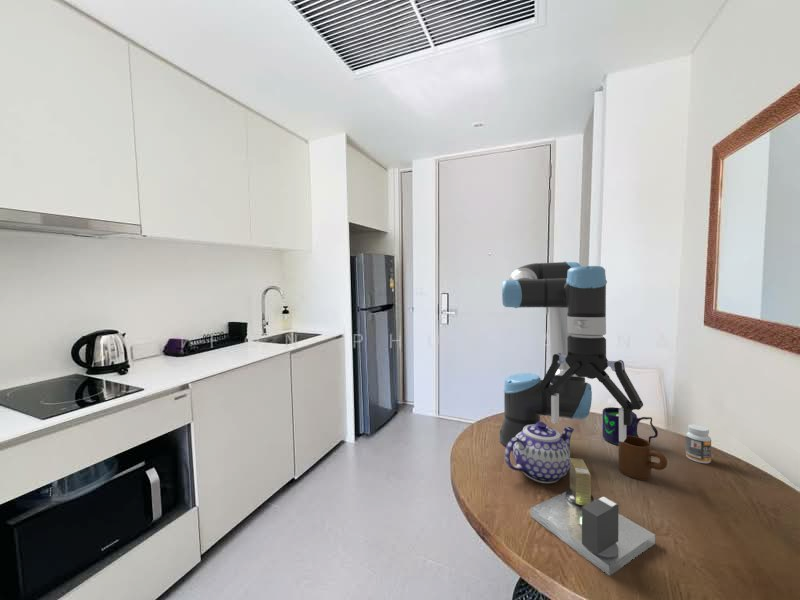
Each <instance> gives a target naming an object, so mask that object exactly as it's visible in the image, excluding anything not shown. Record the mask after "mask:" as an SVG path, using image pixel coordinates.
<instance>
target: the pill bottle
mask: <svg viewBox="0 0 800 600" xmlns="http://www.w3.org/2000/svg"><path fill="white" fill-rule="evenodd" d="M687 426H688V427H687V430H688V431H687V432H686V434H685V455H686V458H688V459H689V460H691V461H693V462H696V463H699V464H710V463H711V462H712V438H711V437H710V436H709V433H710V430H709V428H707V427H706V426H703V425H699V424H688V425H687Z"/></svg>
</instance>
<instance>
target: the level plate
mask: <svg viewBox="0 0 800 600" xmlns="http://www.w3.org/2000/svg"><path fill="white" fill-rule="evenodd" d="M595 500H596V499H594V501H595ZM582 507H583V506H580V505H577V504H575V503H573V502H571V501H570V500H569V499H568V498H567V497H566V491H565V492H562V493H560V494H558V495H556V496H554V497H551V498H550V499H546V500H545V501H543V502H540V503H538V504H536V505H533V506H532V507H530V510H529V512H530V515H529V516H530V517H531V518H532V519H533V520H535V522H537V523H539V524H540V525H541V526H543V527H544V528H545V529H546V530H548V531H549V532H551V534H554V536H555V537H557V538H558V539H560V540H561V541H562V542H563V543H565V544H566V545H567V546H569V547H570V548H571V549H573V550H574V551H575V552H577V553H578V554H579V555H580V556H582V557H583V558H585V559H586V560H587V561H589V562H590V563H591V564H592V565H594V566H595V567H596V566H597V567H596V568H598V569H599V570H600V569H601V570H600V571H602V572H603V573H604V572H605V574H606V576H608V575H609V576H608V577H610V576H612V575H613V574H615V573H617V572H618V571H619V570H620V569H622V568H623V567H625V566H626V565H627V564H629V563H630V562H632V561H633V560H634V559H636V558H637V557H639V556H640V555H641V554H643V553H645V552H646V551H647V550H648V548H649V549H650V548H651V547H653V546H654V545H656V534H654V533H653V532H651V531H649V530H648V529H646V528H644V527H643V526H641V525H639V524H637V523H636V522H634V521H633V520H630V519H629V518H627V517H626V516H624V515H623V514H620V512H618V542H616V544H617V546H618V554H617V556H615V557H611V558H608V557H603V556H600V555H596V554H595V553H593V552H592V551H590V550H589V549H588V548H587V547H585V546H584V545H583V544H582ZM642 552H643V553H642ZM638 555H639V556H638ZM635 557H636V558H635ZM632 559H633V560H632ZM631 560H632V561H631ZM624 565H625V566H624Z"/></svg>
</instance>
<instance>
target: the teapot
mask: <svg viewBox="0 0 800 600" xmlns="http://www.w3.org/2000/svg"><path fill="white" fill-rule="evenodd" d="M574 430H575V429H574V428H573V427H570V426H569V427H568V426H566V427H564V428H563V431H562V433H561V434H560V432H559V431H558V430H557V429H555V428H553V427H550V426H548V425H547V424H546V423H545V422H543V421H540V422H537V423H536V424H532V425H527V426H525V427H524V428H523V430H522V431H521V432H519V433H518V434H517V435H516V436H515V437H513V438H512V439H511V440H510V441H509V443H508V444H507V447H506V446H505V451H504V461H505V463H506V465H507V467H509V468H510V469H512V470H514V471H519V472H522V473H523V474H524V475H525V476H526V477H527V478H528V479H530V480H533V481H535V482H537V483H542V484H553V483H554V484H555V483H556V482H558V481H559V480H560V479H562V478H563V477H565V476H566V475H567V474H568V472H569V471H570V458H571V452H570V448H571V447H570V444H571V437H572V433H573V432H574ZM512 447H513V450H512ZM511 452H512V453H513V459H514V460H513V461H515V464H516V465H513V464H512V463H511Z"/></svg>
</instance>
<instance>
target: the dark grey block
mask: <svg viewBox="0 0 800 600" xmlns="http://www.w3.org/2000/svg"><path fill="white" fill-rule="evenodd" d="M594 500H595V501H593V502H591V503H589V504H587V505H585V506H583V507H582V544H583V545H584V546H585V547H587V548H588V549H589V550H590V551H592V552H593V553H595V554H596V555H600V556H603V557H608V558H611V557H615V556H617V554H618V546H617V544H616V542H618V513H619V507H620V506H619V504H618V503H617V502H615V501H613V500H611V499H610V498H607V497H606V496H604V495H603V496H601V497H598V498H597V499H594Z"/></svg>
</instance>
